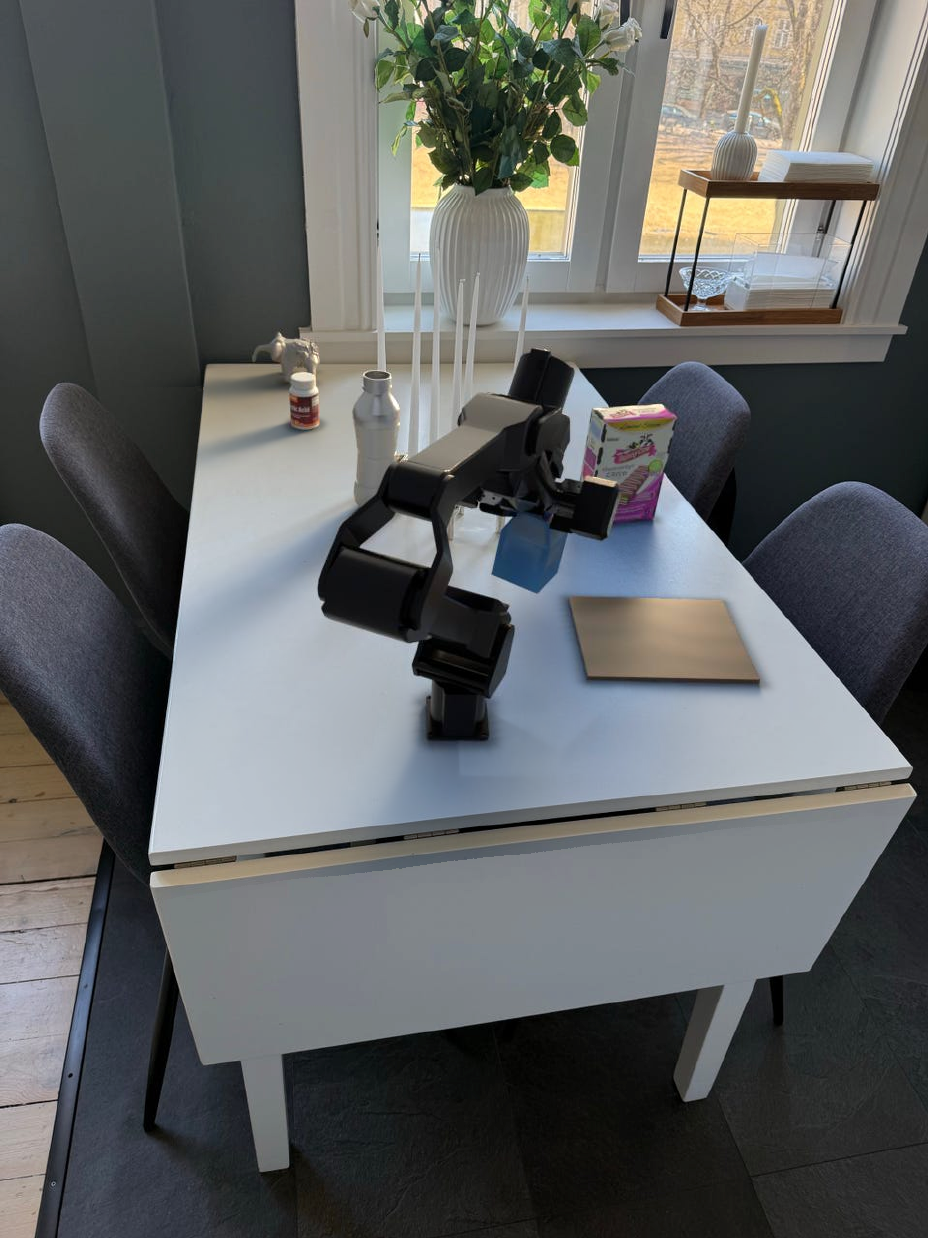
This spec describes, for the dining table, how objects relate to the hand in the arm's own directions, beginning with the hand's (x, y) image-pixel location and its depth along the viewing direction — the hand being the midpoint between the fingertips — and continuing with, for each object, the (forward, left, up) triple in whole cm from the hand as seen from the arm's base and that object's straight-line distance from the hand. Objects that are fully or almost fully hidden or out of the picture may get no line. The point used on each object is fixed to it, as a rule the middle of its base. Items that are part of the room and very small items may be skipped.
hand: (542, 517), depth 108 cm
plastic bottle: (+23, +20, -13) cm, 33 cm away
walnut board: (-7, -15, -12) cm, 21 cm away
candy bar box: (+23, -15, -13) cm, 30 cm away
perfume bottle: (-1, +1, -8) cm, 8 cm away
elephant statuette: (+71, +38, -13) cm, 81 cm away
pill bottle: (+51, +33, -13) cm, 62 cm away
